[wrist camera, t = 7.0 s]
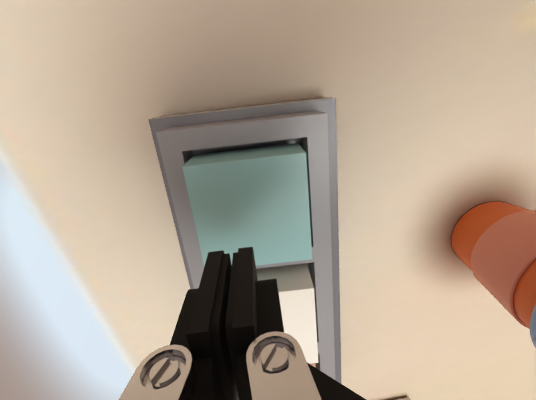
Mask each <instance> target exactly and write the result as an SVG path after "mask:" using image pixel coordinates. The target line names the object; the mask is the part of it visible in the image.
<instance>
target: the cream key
mask: <svg viewBox="0 0 536 400" xmlns="http://www.w3.org/2000/svg"><path fill="white" fill-rule="evenodd" d="M256 272H257V279H258V281H259V280H267V279H275V278H276V279H277V286H278V293H279V300H280V306H281V313H282V320H283V327H284V333H287V334H289V335H291V336H292V337H294V338H295V339H296V340H297V341H298V343H299V345H300V346H301V349H302V351H303V354H304V356H305V359H306V361H307V363H309V364H313V363H318V347H317V330H316V313H315V296H314V286H313V283H312V280H311V276H310V273H309V270H308V266H307V263H303V264H294V265H286V266H277V267H268V268H259V269H256Z"/></svg>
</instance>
